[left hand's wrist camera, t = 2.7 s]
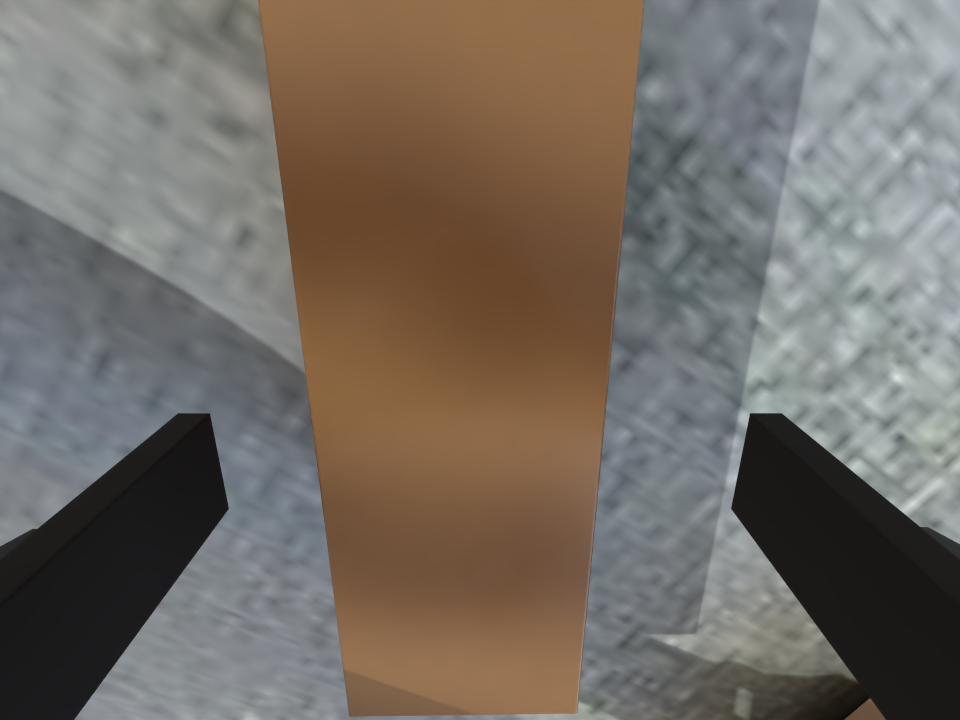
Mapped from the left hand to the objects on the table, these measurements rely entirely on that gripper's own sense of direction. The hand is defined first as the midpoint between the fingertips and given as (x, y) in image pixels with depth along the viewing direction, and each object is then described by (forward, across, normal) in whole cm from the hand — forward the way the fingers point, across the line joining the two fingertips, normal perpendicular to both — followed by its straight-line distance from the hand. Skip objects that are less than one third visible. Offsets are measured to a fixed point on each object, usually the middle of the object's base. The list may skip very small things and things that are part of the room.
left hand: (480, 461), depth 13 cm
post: (+4, 0, -26) cm, 26 cm away
